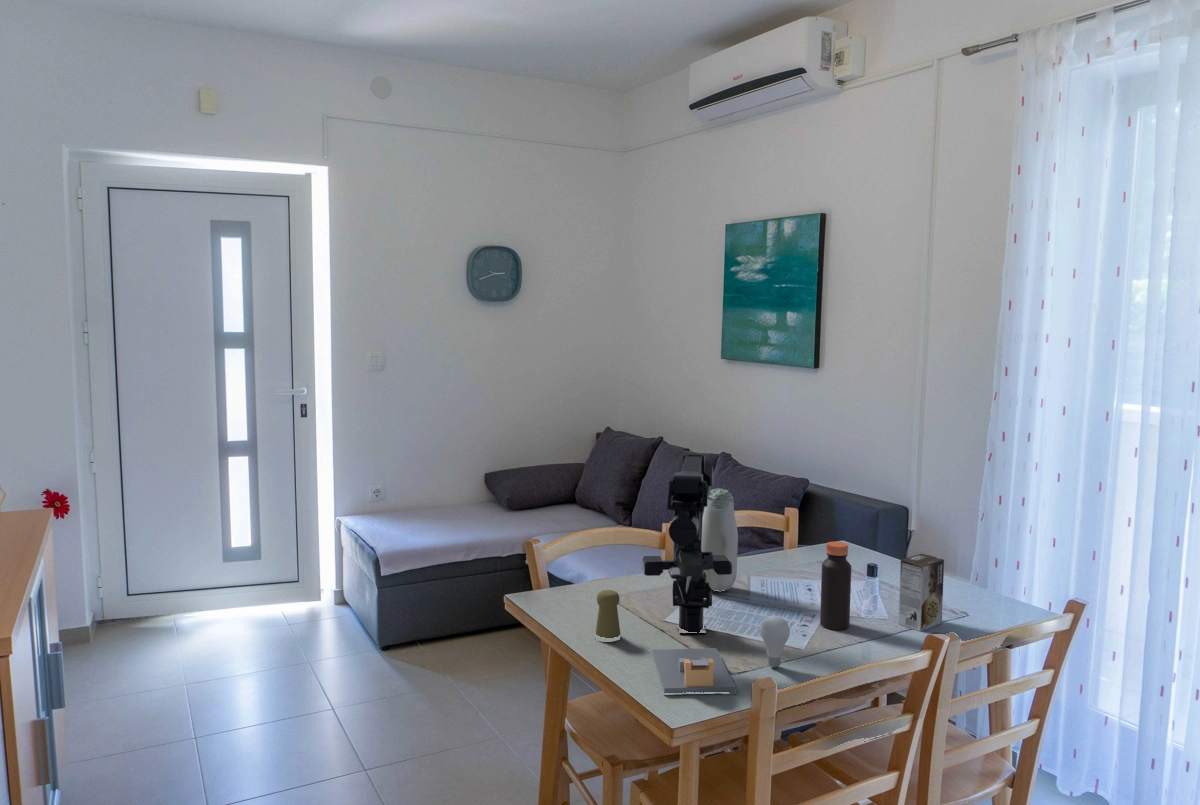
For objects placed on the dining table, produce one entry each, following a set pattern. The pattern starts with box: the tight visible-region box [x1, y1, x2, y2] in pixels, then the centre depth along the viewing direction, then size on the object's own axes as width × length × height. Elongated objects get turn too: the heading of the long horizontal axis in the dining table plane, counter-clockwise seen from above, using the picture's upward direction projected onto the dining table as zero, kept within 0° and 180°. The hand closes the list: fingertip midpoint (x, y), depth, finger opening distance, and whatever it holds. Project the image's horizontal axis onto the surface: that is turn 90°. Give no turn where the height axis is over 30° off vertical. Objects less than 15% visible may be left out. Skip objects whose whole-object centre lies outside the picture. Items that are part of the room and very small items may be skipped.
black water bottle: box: [819, 541, 852, 631], centre depth 198 cm, size 7×7×20 cm
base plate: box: [652, 647, 736, 694], centre depth 171 cm, size 19×14×6 cm
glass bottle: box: [701, 487, 739, 591], centre depth 223 cm, size 10×10×28 cm
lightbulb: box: [759, 615, 791, 668], centre depth 174 cm, size 6×6×11 cm
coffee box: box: [898, 553, 945, 632], centre depth 199 cm, size 9×6×16 cm
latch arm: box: [690, 660, 709, 666], centre depth 165 cm, size 10×3×1 cm, turn 3°
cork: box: [595, 589, 621, 638], centre depth 190 cm, size 6×6×11 cm
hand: (685, 603), depth 178 cm, fingers closed
